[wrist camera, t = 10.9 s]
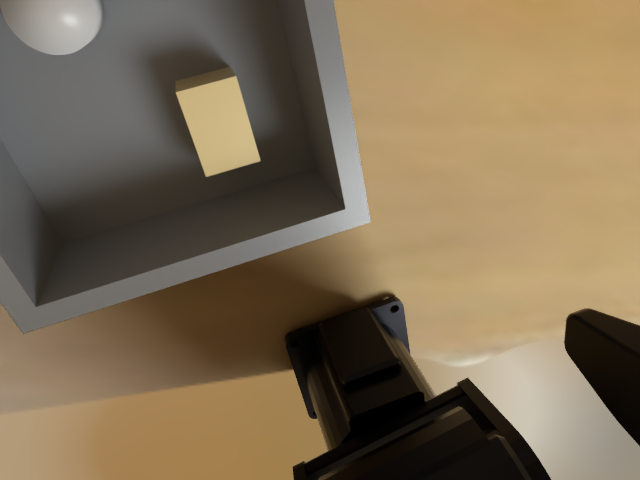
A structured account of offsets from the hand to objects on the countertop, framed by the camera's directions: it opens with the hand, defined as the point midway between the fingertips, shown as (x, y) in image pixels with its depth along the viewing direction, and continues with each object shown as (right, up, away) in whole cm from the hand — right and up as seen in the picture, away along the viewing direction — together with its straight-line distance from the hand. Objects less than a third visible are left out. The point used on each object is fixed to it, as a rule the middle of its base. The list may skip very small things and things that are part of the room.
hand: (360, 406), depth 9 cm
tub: (-7, +9, +8) cm, 14 cm away
